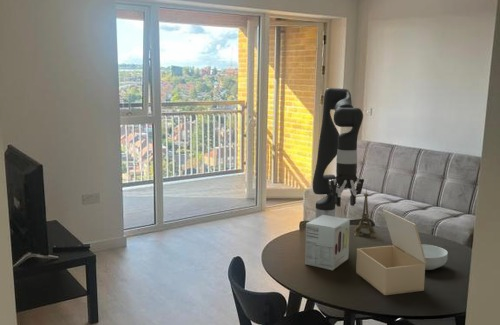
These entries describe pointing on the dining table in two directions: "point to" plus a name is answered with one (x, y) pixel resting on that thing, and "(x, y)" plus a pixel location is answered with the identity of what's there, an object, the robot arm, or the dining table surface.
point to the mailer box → (390, 270)
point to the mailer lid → (404, 235)
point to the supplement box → (327, 241)
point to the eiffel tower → (365, 216)
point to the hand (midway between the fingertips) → (345, 205)
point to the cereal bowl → (433, 256)
